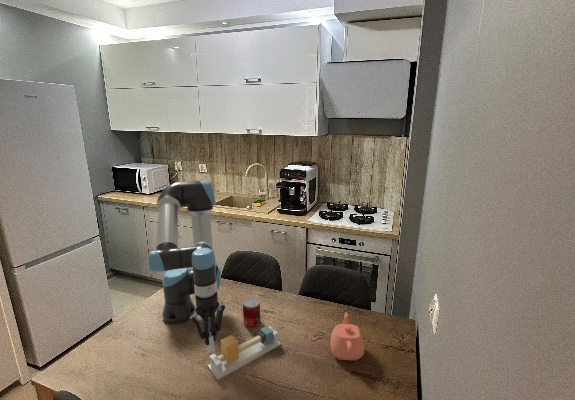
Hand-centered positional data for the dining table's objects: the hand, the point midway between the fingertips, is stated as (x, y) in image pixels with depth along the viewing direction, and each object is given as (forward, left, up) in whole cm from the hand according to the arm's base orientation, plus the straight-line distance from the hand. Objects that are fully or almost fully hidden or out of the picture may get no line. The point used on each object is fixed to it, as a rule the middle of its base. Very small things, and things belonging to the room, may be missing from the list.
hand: (210, 350), depth 114 cm
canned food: (-16, +28, -11) cm, 34 cm away
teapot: (+24, +48, -11) cm, 54 cm away
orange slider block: (0, +8, -8) cm, 11 cm away
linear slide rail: (0, +15, -10) cm, 18 cm away
